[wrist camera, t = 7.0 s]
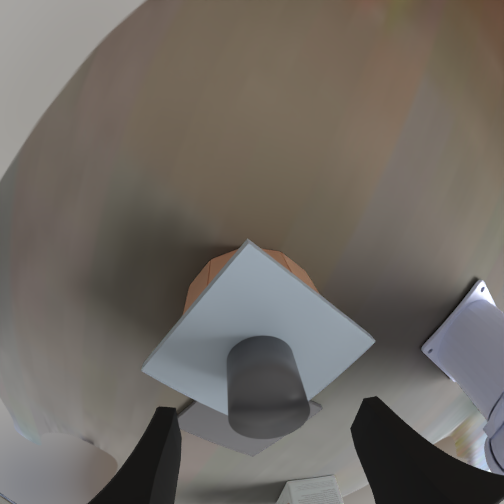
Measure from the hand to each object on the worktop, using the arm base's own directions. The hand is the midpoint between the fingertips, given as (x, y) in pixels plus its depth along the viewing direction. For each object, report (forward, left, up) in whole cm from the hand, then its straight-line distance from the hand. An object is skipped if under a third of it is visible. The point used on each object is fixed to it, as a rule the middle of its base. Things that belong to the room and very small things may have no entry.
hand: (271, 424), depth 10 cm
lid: (0, 0, -5) cm, 4 cm away
